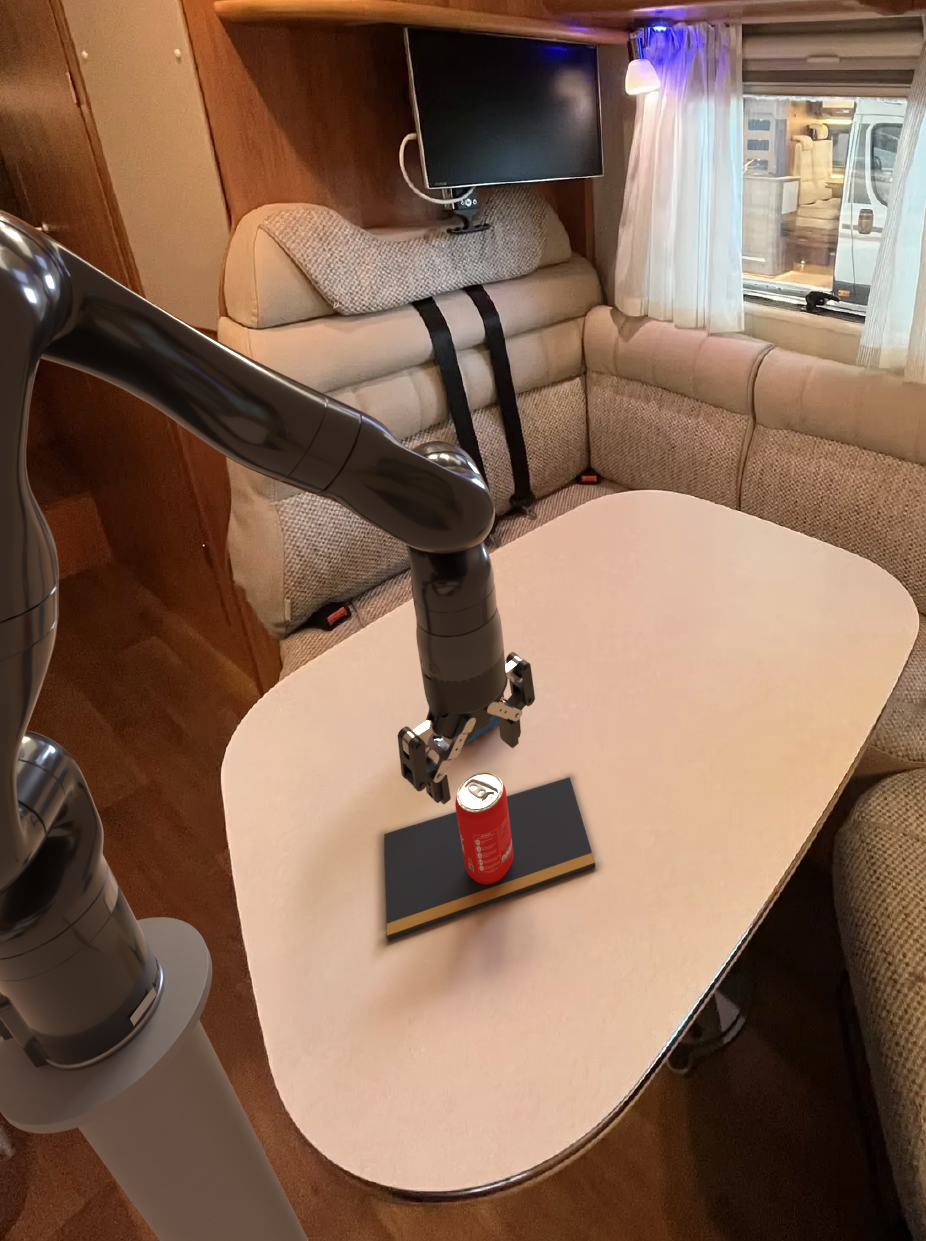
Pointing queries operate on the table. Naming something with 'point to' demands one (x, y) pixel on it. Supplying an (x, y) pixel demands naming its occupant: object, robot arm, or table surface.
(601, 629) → the table surface
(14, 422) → the robot arm
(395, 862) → the front mat
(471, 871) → the beverage can
